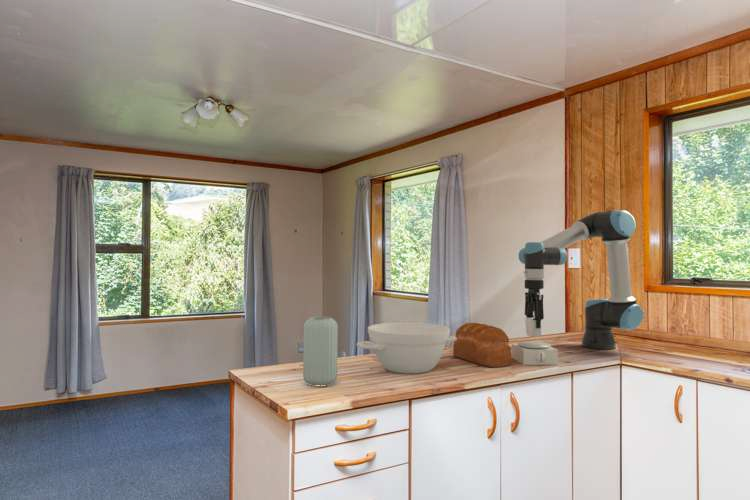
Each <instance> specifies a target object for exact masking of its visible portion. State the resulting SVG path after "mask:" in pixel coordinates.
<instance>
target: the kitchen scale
mask: <svg viewBox="0 0 750 500" xmlns="http://www.w3.org/2000/svg"><path fill="white" fill-rule="evenodd" d="M558 350H559V349H558V348H555V347H553V346H551V344H550V343H547V342H542V341H530V340H529V341H526V340H525V341H518V342H517V343H511V359H512V360H515V361H516V362H517V363H519V364H521V363H522V364H521V365H523V366H534V365H535V366H545V365H547V366H548V365H550V366H551V365H555V366H556V365H558V364H559V363H558V361H559V360H558V358H559V357H558V356H559V355H558V353H559V351H558Z"/></svg>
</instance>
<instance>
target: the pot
mask: <svg viewBox="0 0 750 500" xmlns="http://www.w3.org/2000/svg"><path fill="white" fill-rule="evenodd" d="M367 334H368V336H369V339H370V340H371V341H369V340H367V341H365V340H364V341H359V342H358V341H357V343H356V347H357V348H359V349H365V350H374V354H375V355H376V358H377V359H378V362H379V363H380V364H381V366H383V368H385V369H386V370H387V371H389V372H390V373H394V372H395V373H396V374H401V375H403V374H405V375H417V374H425V373H429V372H431V370H433V369H434V368H435V367H436V366H437V365H438V363H439V361H440V359H441V358H442V355H443V353H444V351H445V347H446V344H451V343H452V342H454V341H456V340H457V337H456V335H455V336H454V335H451V328H450V327H449V326H446V325H442V324H437V323H428V322H427V323H426V322H413V321H412V322H411V321H410V322H397V321H396V322H383V323H376V324H371V325H368V326H367Z"/></svg>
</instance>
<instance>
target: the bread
mask: <svg viewBox="0 0 750 500" xmlns="http://www.w3.org/2000/svg"><path fill="white" fill-rule="evenodd" d="M455 337H457V340H456V341H453V349H452V351H453V352H452V353H453V356H454V357H456V358H458V359H462V360H464V361H468V362H470V363H475V364H477V365H480V366H483V367H489V368H501V367H502V368H503V367H507V366H510V365H511V364H512V346H510V344H509V342H510V339H509V336H508V335H507V334H506V332H505V331H504V330H503V329H501V328H499V327H496V326H493V325H489V324H485V323H479V322H466V323H463V325H461V326H459V327H458V328H457V329H456V330H455Z"/></svg>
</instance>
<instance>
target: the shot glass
mask: <svg viewBox="0 0 750 500" xmlns="http://www.w3.org/2000/svg"><path fill="white" fill-rule="evenodd" d="M534 318H535V317H532V318H527V317H525V318H524V320H525V331H526V332H525V333H526V336H528V337H535V336H534V320H533V319H534ZM542 327H543V319H542V320H541V330H543V329H542Z"/></svg>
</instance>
